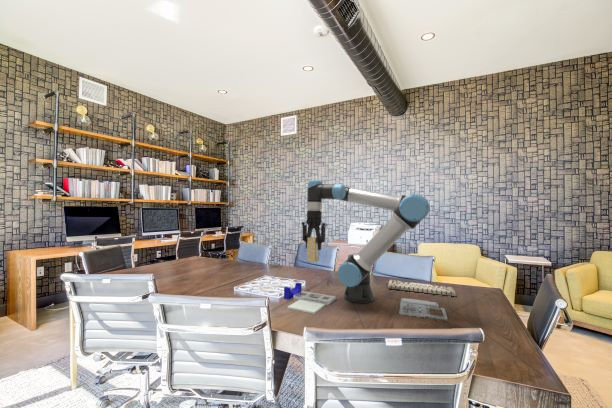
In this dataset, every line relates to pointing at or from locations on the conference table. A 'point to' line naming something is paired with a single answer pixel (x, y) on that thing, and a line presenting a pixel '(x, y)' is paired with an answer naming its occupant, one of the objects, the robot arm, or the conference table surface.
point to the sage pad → (306, 306)
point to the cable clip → (292, 291)
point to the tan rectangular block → (312, 249)
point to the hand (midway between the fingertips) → (313, 255)
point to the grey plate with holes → (321, 298)
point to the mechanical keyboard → (420, 288)
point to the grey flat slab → (420, 308)
